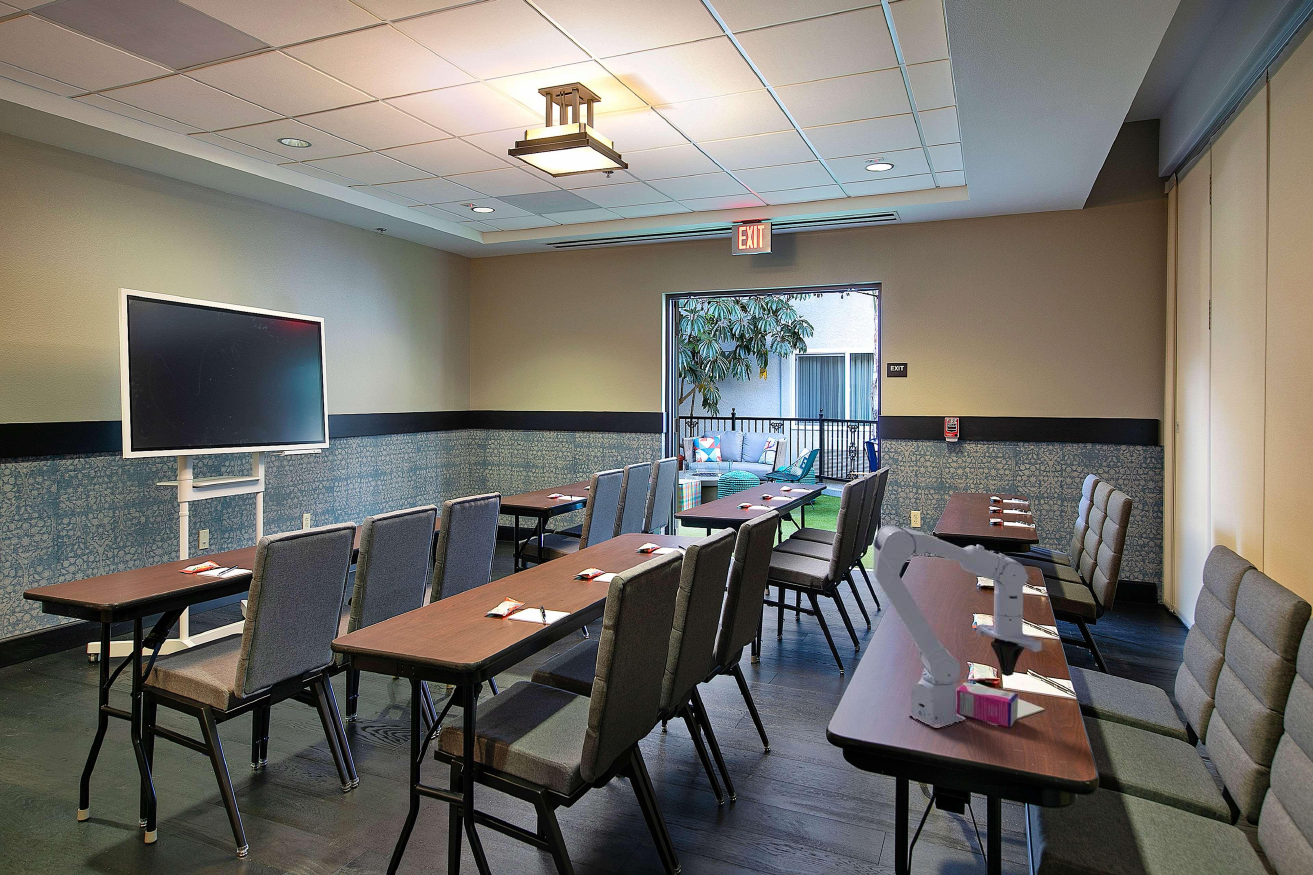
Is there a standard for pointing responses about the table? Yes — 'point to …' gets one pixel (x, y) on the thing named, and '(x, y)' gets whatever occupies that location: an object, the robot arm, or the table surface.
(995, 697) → the supplement box
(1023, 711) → the grey mat
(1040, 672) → the table surface
